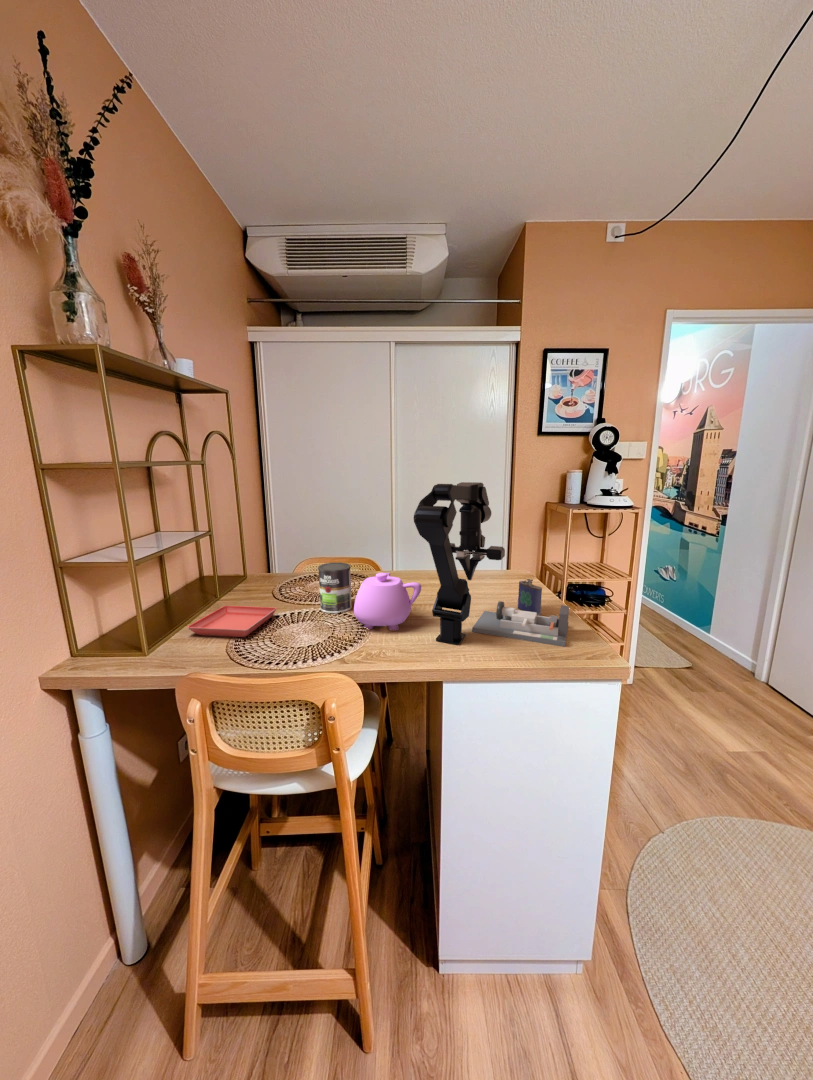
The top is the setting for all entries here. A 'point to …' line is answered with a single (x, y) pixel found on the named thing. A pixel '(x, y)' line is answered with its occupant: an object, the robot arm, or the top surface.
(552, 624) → the marker
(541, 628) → the gauge bench
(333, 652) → the top surface
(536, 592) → the flask
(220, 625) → the plant saucer
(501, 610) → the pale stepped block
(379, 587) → the teapot
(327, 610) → the coffee can
